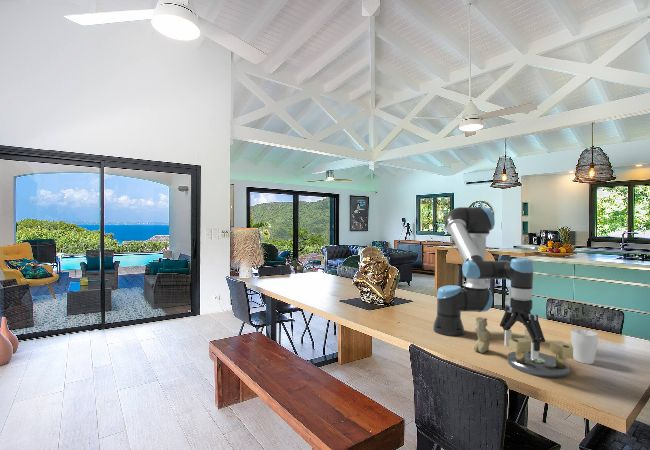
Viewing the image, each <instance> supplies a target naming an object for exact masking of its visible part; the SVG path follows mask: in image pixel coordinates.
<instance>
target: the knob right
mask: <svg viewBox="0 0 650 450" xmlns="http://www.w3.org/2000/svg"><path fill="white" fill-rule="evenodd" d="M549 351H550V352H551V353H553V354H555V357H556V366H557V367H558V368H563V369H565V368H566V363H567V359H574V357H573V347H572V345H569V344H567V343H566V342H563V341H562V340H550V341H549Z"/></svg>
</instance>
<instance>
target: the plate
mask: <svg viewBox="0 0 650 450" xmlns="http://www.w3.org/2000/svg"><path fill="white" fill-rule="evenodd" d="M507 363H508V365H509V366H511V367H512V368H514V369H515V370H517V371H519V372H521V373H525V374H527V375H530V376H535V377H540V378H547V379H563V378H567V377H568V376H569V375H570V365H569V364H568V363H567V362H566V368H565V369H563V368H558V367H557V366H556V356H554V355H551V354H547V353H541V352H539V359H533V360H532V359H531V354H529V353H528V352H525V363H524V364H520V363H517V362H516V352H514V351H511V352H509V353H508V354H507ZM562 377H563V378H562Z"/></svg>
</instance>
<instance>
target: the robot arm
mask: <svg viewBox="0 0 650 450" xmlns="http://www.w3.org/2000/svg"><path fill="white" fill-rule="evenodd" d="M495 222H496V220H495V216H494V213H493V211H492V210H491V209H490V208H488V207H481V206H479V207H474V206H473V207H469V206H468V207H466V206H465V207H463V206H460V207H455V208H454V209H452V210H450V211H449V212H448V213H447V215H446V217H445V219H444V228H445V230H446V231H447V233H448V234H449V235H451V238H452V240H453V242H454V244H455V245H456V248H457V250H458V251H459V254H460V256H461V259H462V260H463V263H462V266H461V270H462V275H463V277H464V278H466V282H465V283H463V288H462V287H461V286H459V285H453V284H452V285H443V286H440V287H439V288H438V289H437V292H436V293H437V295H436V317H435V320H434V322H433V332H435V333H437V334H440V335H442V336H443V335H444V336H453V337H457V336H458V337H459V336H463V335H464V334H465V327H464V324H463V321H462V316H461V315H462V314H461V313H462V312H464V313H465V312H466V313H467V312H471V313H472V312H473V313H474V312H475V313H476V312H477V313H484V312H488V311H490V309H491V308H492V306H493V301H494V297H493V292H492V290H490V289H489V286H488V285H487V284H486V280H507V281H508V280H510V302H509V305H510V306H505V310H504V311H505V312H504V314H503V316H502V318H501V321H500V323H499V327H500V328H502V330H503V336H504V337H503V338H504V347H509V339H512V327H513V326H514V325H515V324H516V322H519V323H520V324H522V325H523V326H524V327H525V328H526V330H528V332H529V334H530V336H531V338H532V340H533V341H531V359H532V360H533V359H539V353H540V350H541V343H545V342H546V339H545V336H544V333H543V331H542V328H541V324H540V322H539V315H538V314H532V312H531V310H533V300H532V299H533V285H534V284H533V282H534V281H533V280H534V279H533V278H534V268H533V267H534V266H533V261H532V260H531V259H528V258H512V259H511V260H507V259H506V260H502V259H501V260H494V261H493V260H486V259H487V258H486V256H487V255H486V254H487V252H486V251H487V250H486V249H487V248H486V247H487V236H489V235H490V232H491V231H492V230H494V228H495ZM535 338H536V339H535Z"/></svg>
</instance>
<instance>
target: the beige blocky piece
mask: <svg viewBox="0 0 650 450" xmlns="http://www.w3.org/2000/svg"><path fill="white" fill-rule="evenodd" d="M524 338H526V339H528V340H531V341H533V340H532V338H531V336H530V334H529V332H528V330H527V329H524ZM535 339H536V338H535ZM528 353H529V354H531V352H528Z"/></svg>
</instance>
